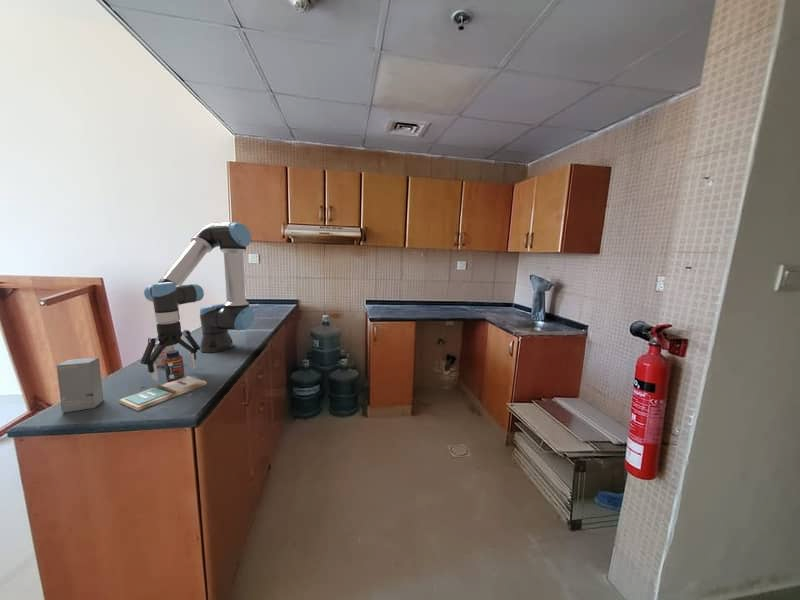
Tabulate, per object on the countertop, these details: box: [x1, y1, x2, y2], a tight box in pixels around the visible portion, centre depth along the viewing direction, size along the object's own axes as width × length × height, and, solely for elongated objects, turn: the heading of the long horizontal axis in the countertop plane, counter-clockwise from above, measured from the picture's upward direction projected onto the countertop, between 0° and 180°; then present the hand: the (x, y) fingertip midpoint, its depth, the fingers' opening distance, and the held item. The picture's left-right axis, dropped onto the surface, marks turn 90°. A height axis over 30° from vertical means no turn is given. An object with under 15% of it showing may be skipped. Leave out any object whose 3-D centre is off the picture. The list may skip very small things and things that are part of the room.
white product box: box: [153, 343, 176, 368], centre depth 138 cm, size 4×7×10 cm, turn 107°
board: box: [118, 375, 208, 412], centre depth 110 cm, size 22×12×2 cm, turn 153°
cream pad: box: [161, 376, 201, 391], centre depth 115 cm, size 9×9×1 cm
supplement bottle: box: [164, 349, 185, 382], centre depth 123 cm, size 6×6×11 cm
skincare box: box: [56, 357, 104, 414], centre depth 101 cm, size 8×7×16 cm
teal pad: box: [124, 387, 169, 405], centre depth 106 cm, size 9×9×1 cm
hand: (174, 373), depth 123 cm, fingers open, 13 cm apart
